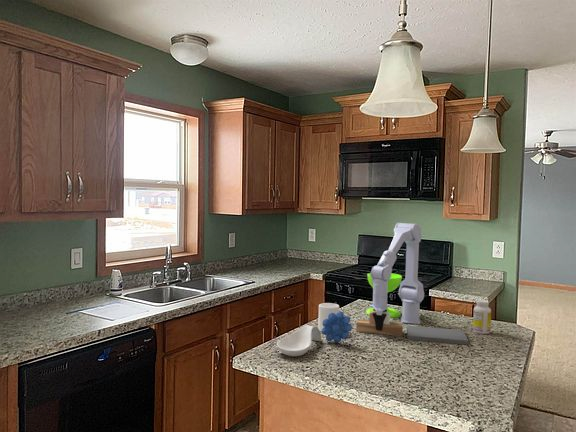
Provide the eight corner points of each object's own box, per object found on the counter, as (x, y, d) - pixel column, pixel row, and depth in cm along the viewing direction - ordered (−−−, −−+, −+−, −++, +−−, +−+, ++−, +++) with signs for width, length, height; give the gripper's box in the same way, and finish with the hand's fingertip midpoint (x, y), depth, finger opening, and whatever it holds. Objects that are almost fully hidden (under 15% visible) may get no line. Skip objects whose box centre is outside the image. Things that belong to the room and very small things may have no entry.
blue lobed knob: (354, 341, 172) (355, 310, 171) (350, 347, 165) (351, 314, 165) (324, 337, 176) (325, 306, 175) (319, 342, 169) (320, 310, 169)
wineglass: (394, 319, 204) (395, 279, 203) (360, 314, 212) (362, 275, 211) (405, 312, 217) (406, 274, 217) (373, 307, 226) (374, 271, 225)
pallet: (357, 328, 189) (357, 319, 189) (401, 332, 185) (402, 322, 185) (356, 332, 184) (356, 322, 184) (402, 335, 180) (402, 325, 180)
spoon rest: (301, 362, 150) (301, 341, 149) (270, 356, 155) (270, 335, 155) (329, 343, 170) (329, 324, 170) (301, 337, 176) (301, 319, 176)
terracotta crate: (369, 320, 187) (369, 310, 187) (379, 321, 187) (379, 311, 186) (369, 322, 184) (369, 313, 183) (379, 323, 183) (379, 313, 182)
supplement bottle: (487, 330, 190) (488, 299, 190) (492, 334, 184) (494, 303, 183) (470, 329, 191) (471, 298, 190) (475, 334, 184) (476, 302, 184)
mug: (323, 324, 194) (324, 300, 194) (342, 326, 192) (343, 302, 191) (315, 331, 183) (316, 306, 183) (335, 334, 180) (336, 308, 180)
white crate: (379, 321, 187) (379, 311, 186) (389, 321, 186) (389, 312, 186) (379, 323, 183) (379, 313, 182) (389, 324, 182) (389, 314, 182)
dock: (406, 329, 189) (406, 325, 189) (462, 333, 184) (462, 330, 184) (407, 339, 176) (407, 335, 175) (468, 344, 171) (468, 340, 171)
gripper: (371, 291, 192) (370, 322, 193) (369, 298, 178) (368, 332, 179) (388, 292, 191) (387, 324, 191) (387, 299, 176) (386, 334, 177)
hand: (379, 328), depth 185 cm, fingers closed on pallet, 5 cm apart
